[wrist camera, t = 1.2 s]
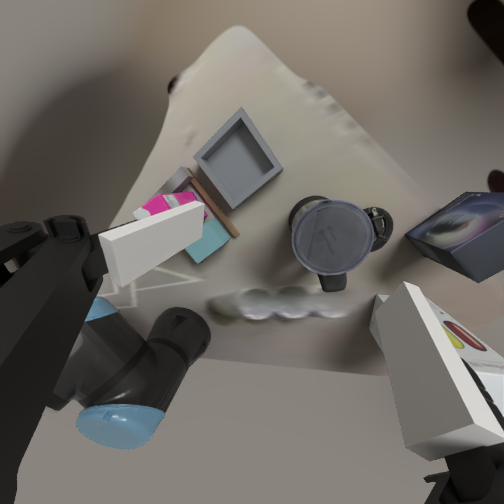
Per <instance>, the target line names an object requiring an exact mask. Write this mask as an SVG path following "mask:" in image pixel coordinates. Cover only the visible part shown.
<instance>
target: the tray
mask: <svg viewBox="0 0 504 504" xmlns="http://www.w3.org/2000/svg"><path fill="white" fill-rule="evenodd" d="M193 158H194V159H195V160H196V162H197V163H198V164H199V166H200V167H201V168H202V170H203V171H204V172H205V173H206V175H207V176H208V177H209V179H210V180H211V181H212V183H213V184H214V185H215V187H216V188H217V189H218V191H219V192H220V193H221V195H222V196H223V197H224V198H225V200H226V201H227V202H228V204H229V205H230V206H231V208H232V209H234V208H237V207H238V206H239V205H241V204H242V203H243V202H244V201H246V200H247V199H248V198H249V197H250V196H252V195H253V194H254V193H255V192H257V191H258V190H259V189H260V188H262V187H263V186H264V185H265V184H266V183H268V182H269V181H270V180H271V179H273V178H274V177H275V176H276V175H278V174H279V173H280V172H281V171H282V170H283V167H282V166H281V164H280V163H279V161H278V160H277V158H276V157H275V155H274V154H273V152H272V151H271V149H270V148H269V146H268V145H267V143H266V142H265V140H264V139H263V137H262V136H261V134H260V133H259V131H258V130H257V128H256V127H255V125H254V124H253V122H252V121H251V119H250V118H249V117H248V115H247V114H246V112H245V111H244V109H243V108H242V107H241V108H240V109H239V110H238V111H237V112H236V113H235V114H234V115H233V116H232V117H231V118H230V119H229V120H228V121H227V122H226V123H225V124H224V125H223V126H222V127H221V128H220V129H219V130H218V131H217V132H216V133H215V135H214V136H213V137H212V138H211V139H210V140H209V141H208V142H207V143H206V144H205V145H204V146H203V147H202V148H201V149H200V150H199V151H198V152H197V153H196V154H195V155H194V156H193Z"/></svg>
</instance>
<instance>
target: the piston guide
mask: <svg viewBox="0 0 504 504" xmlns="http://www.w3.org/2000/svg"><path fill="white" fill-rule="evenodd" d="M190 182H192V183H193V185H194V186H195V187H196V189H197V190H198V191H199V192H200V194H201V195H202V196H203V197H204V199H205V200H206V201H207V203H208V204H209V205H210V206H211V208H212V209H213V210H214V212H215V213H216V214H217V215H218V217H219V218H220V219H221V220H222V222H223V223H224V224H225V226H226V227H227V228H228V229H229V231H230V232H231V233H232V235H233V236H234V237H236V236H238V235H239V232H238V231H237V230H236V228H235V227H234V226H233V224H232V223H231V222H230V221H229V219H228V218H227V217H226V215H225V214H224V213H223V212H222V210H221V209H220V208H219V206H218V205H217V204H216V202H215V201H214V200H213V199H212V197H211V196H210V195H209V193H208V192H207V191H206V190H205V188H204V187H203V186H202V184H201V183H200V182H199V180H198V179H197V178H196V177H195V175H194V174H193V173H192V171H191V170H190V169H189V168H185V167H180V168H179V169H178V170H177V171H176V172H175V173H174V175H173V176H172V177H171V178H170V179H169V180H168V181H167V182H166V183H165V184H164V185H163V186H162V187H161V188H160V189H159V190H158V191H157V192H156V193H155V194H154V195H153V196H152V198H153V197H155V196H156V195H158V194H170V193H180V192H181V191H182V190H183V189H184V188H185V187H186V186H187V185H188V184H189V183H190ZM152 198H151V199H152ZM151 199H150V200H151ZM205 259H206V258H205ZM205 259H203V260H202V261H201V263H202V262H203V261H204V260H205Z"/></svg>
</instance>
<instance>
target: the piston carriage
mask: <svg viewBox="0 0 504 504" xmlns="http://www.w3.org/2000/svg"><path fill="white" fill-rule="evenodd" d="M230 238H231V237H230V236H229V235H228V234H227V232H226V231H225V230H224V228H223V227H222V226H221V225H220V223H219V222H218V221H217V220H216V218H215V219H213V220H211V221H209V222H206V223H205V224H204V225H203V232H202V238H200V239H198V240H197V241H195V242H194V243H192V244H191V245H189V246H187V247H186V248H185V250H186V251H187V252H188V253H189V254H190V256H191V257H192V258H193V259H194V260H195V261H196V263H197V264H198V263H199V262H201V261H202V260H203V259H205V258H206V257H207V256H209V255H210V254H211V253H213V252H214V251H215V250H217V249H218V248H219V247H221V246H222V245H223V244H224V243H225V242H227V241H228V240H229V239H230Z"/></svg>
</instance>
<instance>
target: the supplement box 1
mask: <svg viewBox="0 0 504 504" xmlns="http://www.w3.org/2000/svg"><path fill="white" fill-rule="evenodd" d="M193 201H198V200H197V198H196V196H195V195H194V193H193V192H182V193H170V194H158V195H156V196H155V197H153V198H152V199H151V200H149V201H148V202H147V203H145V204H144V205H143V206H141V207H140V208H139V209H138V210H136V211H135V212H134V213H133V215H134V216H135V217H136V218H137V220H140V219H144V218H147V217H150V216H152V215H155V214H158V213H161V212H164V211H167V210H170V209H173V208H176V207H179V206H181V205H184V204H187V203H190V202H193ZM198 202H199V201H198ZM206 216H207V214H206V212H205V211H204V217H206Z"/></svg>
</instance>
